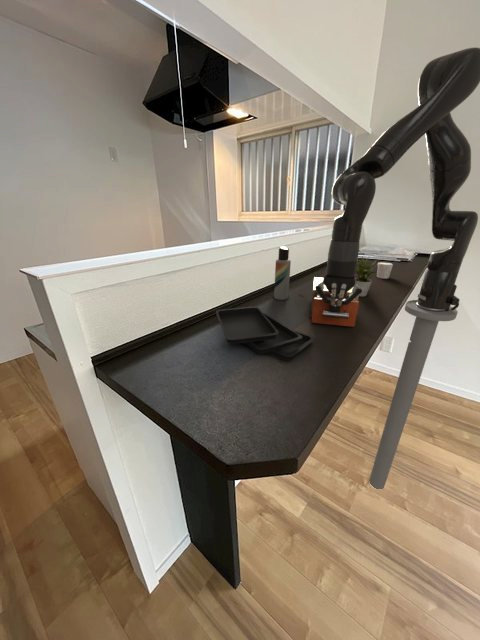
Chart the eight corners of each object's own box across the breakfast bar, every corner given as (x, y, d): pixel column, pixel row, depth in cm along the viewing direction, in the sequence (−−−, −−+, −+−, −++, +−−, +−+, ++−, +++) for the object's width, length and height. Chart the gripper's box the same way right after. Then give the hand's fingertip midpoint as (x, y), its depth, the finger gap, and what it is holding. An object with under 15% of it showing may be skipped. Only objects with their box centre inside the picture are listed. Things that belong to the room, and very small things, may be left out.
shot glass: (380, 279, 131) (383, 265, 129) (372, 275, 138) (375, 262, 135) (393, 278, 132) (396, 264, 129) (385, 275, 138) (388, 261, 135)
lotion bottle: (281, 294, 111) (283, 245, 102) (291, 298, 106) (294, 247, 98) (271, 297, 107) (273, 247, 99) (281, 301, 103) (284, 249, 95)
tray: (320, 336, 76) (322, 319, 74) (290, 378, 58) (291, 358, 56) (233, 315, 90) (233, 301, 88) (187, 344, 72) (185, 327, 70)
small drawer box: (353, 322, 85) (359, 293, 81) (309, 317, 88) (312, 289, 84) (349, 305, 98) (353, 279, 95) (311, 302, 102) (314, 277, 98)
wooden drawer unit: (356, 334, 75) (361, 308, 72) (310, 329, 78) (313, 304, 75) (349, 309, 92) (353, 287, 89) (312, 306, 95) (315, 285, 92)
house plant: (331, 291, 114) (337, 252, 108) (356, 287, 119) (362, 250, 113) (356, 301, 102) (364, 259, 96) (382, 296, 107) (391, 256, 101)
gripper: (316, 259, 69) (309, 319, 76) (371, 261, 65) (359, 324, 73) (317, 254, 75) (311, 310, 82) (367, 256, 72) (356, 314, 79)
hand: (333, 316), depth 77 cm, fingers closed
